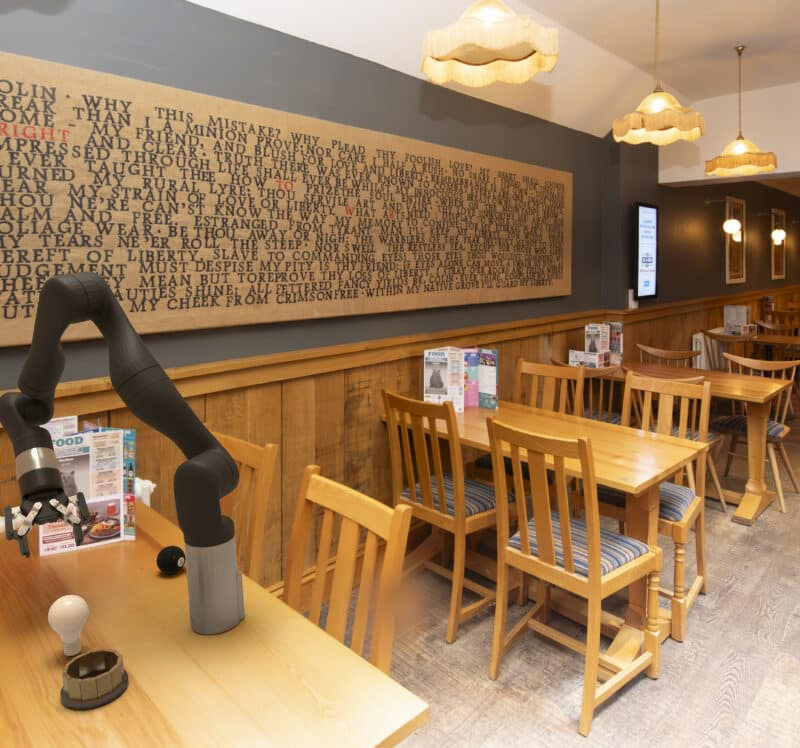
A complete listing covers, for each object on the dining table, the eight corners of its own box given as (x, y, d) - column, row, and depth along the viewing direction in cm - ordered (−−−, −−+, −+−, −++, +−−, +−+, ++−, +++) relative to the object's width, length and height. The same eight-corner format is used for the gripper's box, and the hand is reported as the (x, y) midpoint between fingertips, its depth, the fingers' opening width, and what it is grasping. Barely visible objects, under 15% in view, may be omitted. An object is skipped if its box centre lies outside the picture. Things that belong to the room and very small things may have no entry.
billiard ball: (172, 580, 143) (170, 554, 142) (152, 575, 145) (149, 550, 144) (192, 568, 148) (190, 544, 147) (171, 564, 151) (169, 539, 150)
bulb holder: (114, 663, 113) (111, 639, 113) (139, 688, 106) (136, 663, 106) (51, 690, 106) (48, 665, 106) (74, 719, 99) (71, 692, 99)
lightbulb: (76, 667, 112) (70, 608, 110) (44, 663, 114) (37, 604, 112) (100, 646, 118) (94, 589, 117) (69, 642, 120) (63, 586, 118)
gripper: (-4, 473, 124) (9, 551, 116) (79, 459, 132) (96, 532, 124) (-2, 492, 129) (10, 568, 121) (77, 478, 137) (93, 548, 130)
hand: (53, 550), depth 123 cm, fingers open, 8 cm apart
